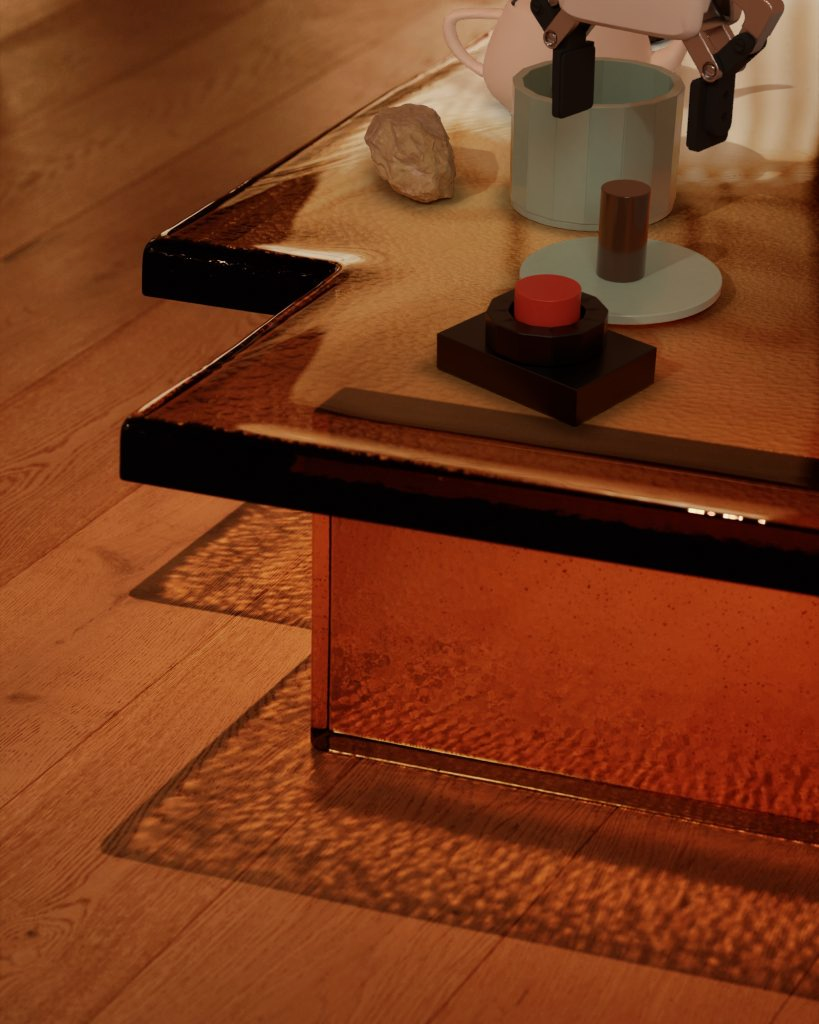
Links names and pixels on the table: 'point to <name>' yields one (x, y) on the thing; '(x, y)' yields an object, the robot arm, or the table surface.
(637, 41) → the teapot
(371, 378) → the table surface
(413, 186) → the stone tool
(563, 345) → the button block
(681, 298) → the lid
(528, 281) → the button
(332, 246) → the table surface
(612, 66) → the jar
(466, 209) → the table surface
